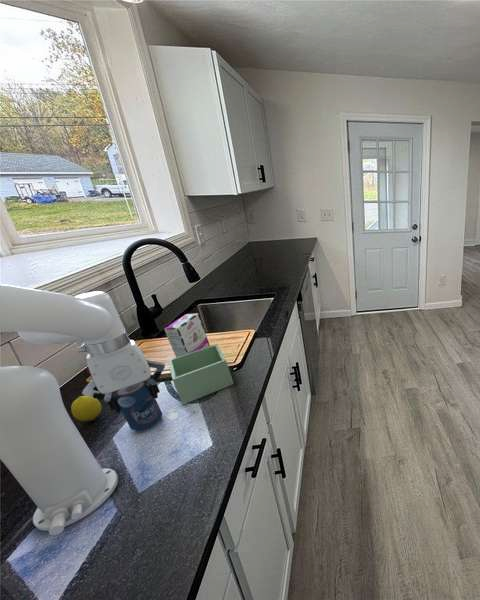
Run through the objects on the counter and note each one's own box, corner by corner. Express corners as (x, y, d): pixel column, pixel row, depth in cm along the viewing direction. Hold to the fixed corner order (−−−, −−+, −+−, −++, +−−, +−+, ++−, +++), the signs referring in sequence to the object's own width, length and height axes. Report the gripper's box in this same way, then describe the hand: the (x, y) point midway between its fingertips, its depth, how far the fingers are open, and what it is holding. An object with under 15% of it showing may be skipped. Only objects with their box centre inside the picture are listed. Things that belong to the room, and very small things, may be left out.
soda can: (146, 435, 80) (127, 397, 75) (125, 431, 81) (105, 394, 77) (170, 415, 86) (154, 379, 81) (150, 412, 87) (133, 377, 83)
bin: (233, 384, 97) (225, 360, 94) (182, 404, 90) (172, 379, 86) (224, 365, 107) (216, 343, 104) (177, 383, 100) (168, 359, 96)
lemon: (90, 428, 83) (76, 404, 80) (74, 426, 84) (59, 402, 81) (111, 413, 88) (99, 390, 85) (96, 411, 89) (83, 389, 86)
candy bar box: (200, 353, 116) (185, 313, 110) (213, 352, 116) (199, 312, 110) (180, 371, 106) (162, 328, 100) (194, 370, 106) (178, 327, 99)
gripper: (54, 364, 66) (92, 428, 73) (154, 335, 76) (179, 394, 83) (60, 351, 72) (94, 411, 79) (152, 325, 82) (176, 381, 88)
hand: (137, 402), depth 81 cm, fingers open, 7 cm apart
